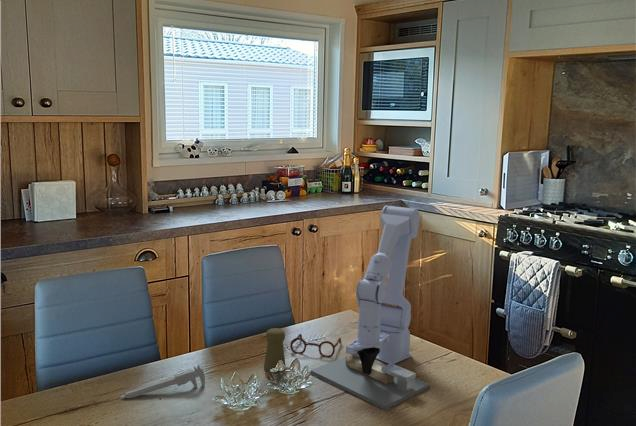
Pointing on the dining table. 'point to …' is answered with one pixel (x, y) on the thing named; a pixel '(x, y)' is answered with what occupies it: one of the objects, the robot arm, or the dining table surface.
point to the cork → (274, 348)
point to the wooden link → (376, 372)
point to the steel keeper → (401, 376)
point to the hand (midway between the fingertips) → (366, 373)
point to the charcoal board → (366, 384)
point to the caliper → (170, 382)
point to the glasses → (314, 345)
